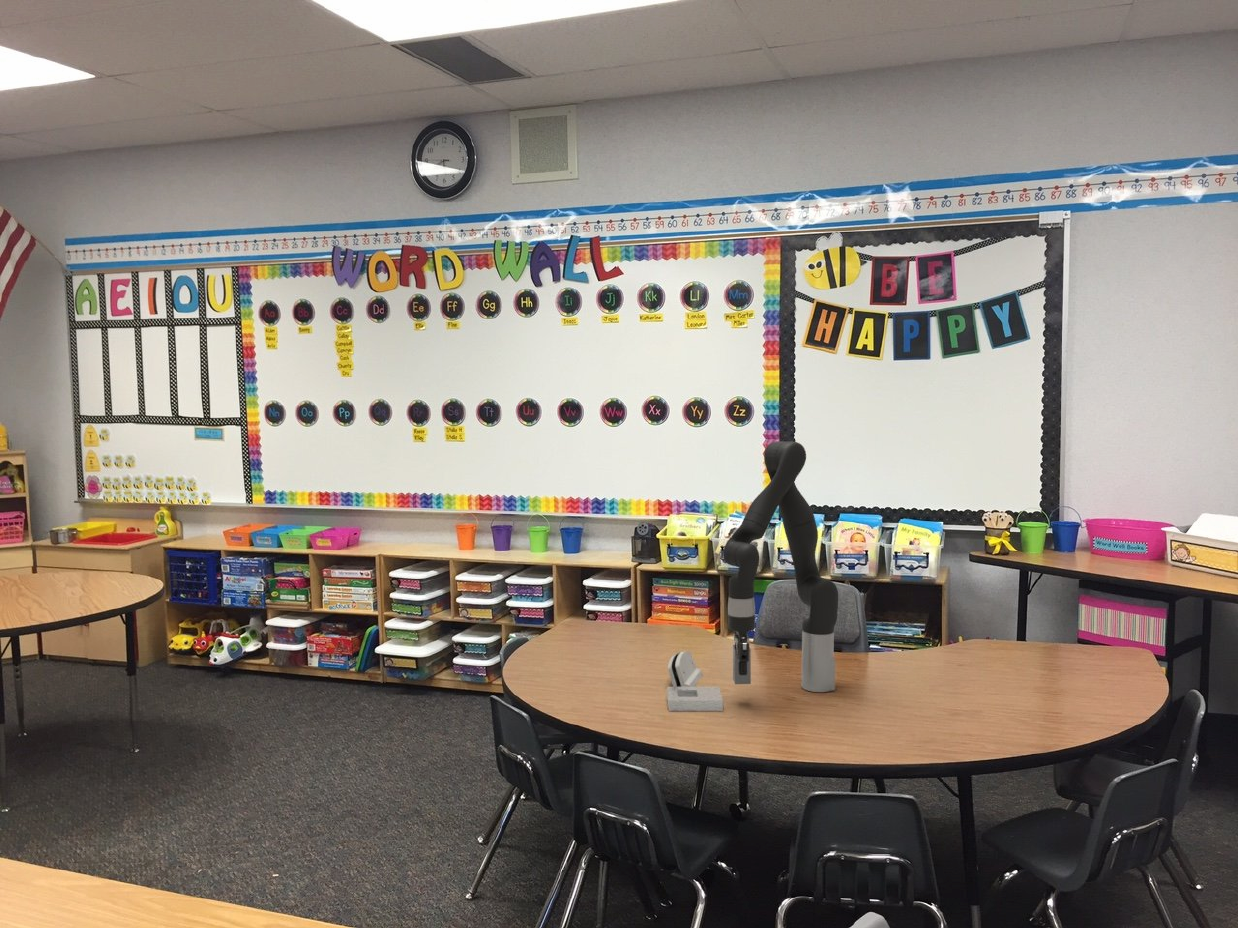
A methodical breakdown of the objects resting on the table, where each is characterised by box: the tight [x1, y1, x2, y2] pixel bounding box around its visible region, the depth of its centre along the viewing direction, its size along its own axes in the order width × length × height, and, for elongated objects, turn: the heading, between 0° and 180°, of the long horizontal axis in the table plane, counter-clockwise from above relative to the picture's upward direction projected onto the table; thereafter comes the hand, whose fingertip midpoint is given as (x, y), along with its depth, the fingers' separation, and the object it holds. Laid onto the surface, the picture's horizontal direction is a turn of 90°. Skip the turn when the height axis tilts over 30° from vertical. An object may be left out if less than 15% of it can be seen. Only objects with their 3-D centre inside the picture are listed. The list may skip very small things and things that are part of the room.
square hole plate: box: [666, 686, 724, 712], centre depth 267 cm, size 15×12×3 cm
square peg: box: [732, 644, 752, 685], centre depth 266 cm, size 4×4×10 cm
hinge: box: [667, 650, 704, 687], centre depth 286 cm, size 17×5×10 cm, turn 162°
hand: (741, 671), depth 266 cm, fingers closed on square peg, 4 cm apart
